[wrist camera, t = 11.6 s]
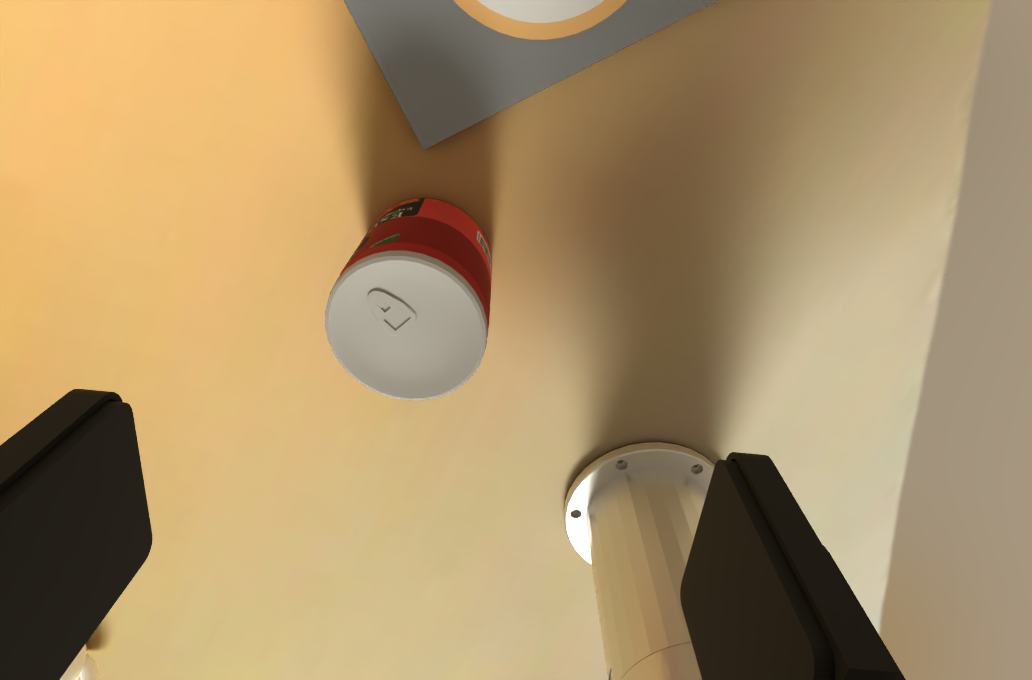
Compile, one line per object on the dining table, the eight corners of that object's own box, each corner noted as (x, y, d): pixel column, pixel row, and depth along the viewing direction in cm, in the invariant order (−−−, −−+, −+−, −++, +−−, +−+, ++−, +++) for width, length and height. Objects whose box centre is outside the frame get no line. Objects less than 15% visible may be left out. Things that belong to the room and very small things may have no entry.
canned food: (404, 168, 39) (368, 222, 29) (517, 240, 41) (520, 313, 31) (345, 270, 41) (294, 351, 32) (453, 332, 43) (437, 427, 34)
